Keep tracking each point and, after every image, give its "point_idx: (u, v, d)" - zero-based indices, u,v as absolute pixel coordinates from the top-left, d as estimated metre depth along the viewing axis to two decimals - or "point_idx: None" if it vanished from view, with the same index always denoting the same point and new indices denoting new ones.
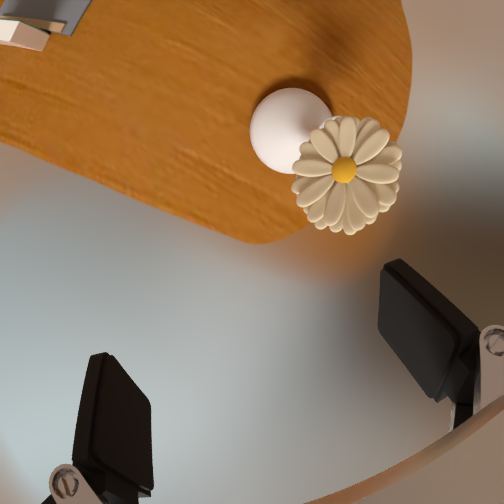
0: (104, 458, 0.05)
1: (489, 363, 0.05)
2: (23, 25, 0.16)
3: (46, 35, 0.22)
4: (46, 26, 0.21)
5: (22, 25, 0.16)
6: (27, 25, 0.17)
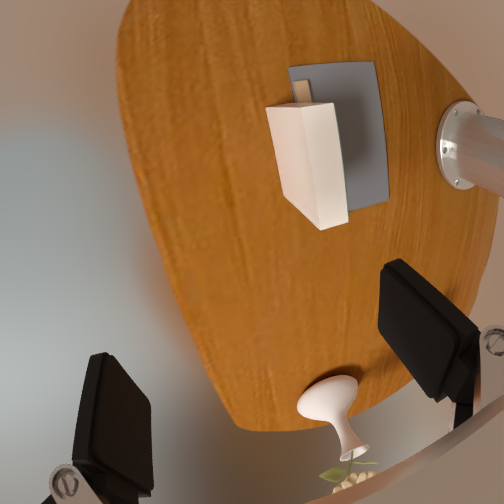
0: (104, 458, 0.05)
1: (489, 363, 0.05)
2: None
3: None
4: None
5: None
6: None
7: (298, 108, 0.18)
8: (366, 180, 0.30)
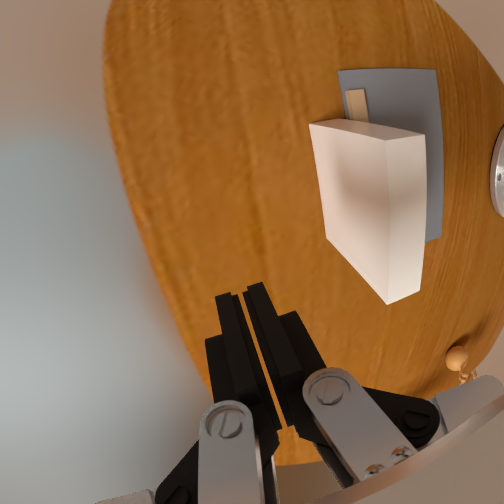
0: None
1: (332, 418, 0.05)
2: None
3: None
4: None
5: None
6: None
7: (379, 140, 0.11)
8: None
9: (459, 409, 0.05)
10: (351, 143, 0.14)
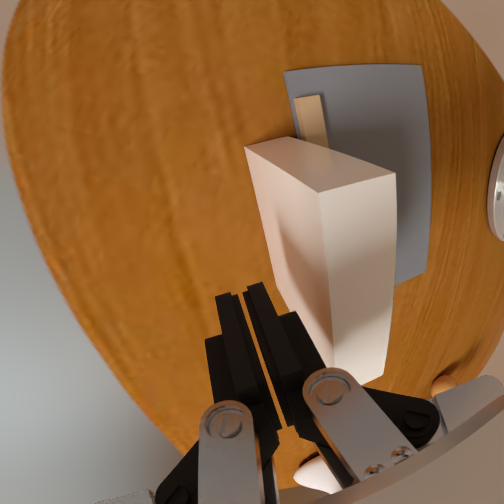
0: None
1: (332, 418, 0.05)
2: None
3: None
4: None
5: None
6: None
7: (311, 190, 0.07)
8: (400, 251, 0.20)
9: (459, 409, 0.05)
10: (281, 184, 0.10)
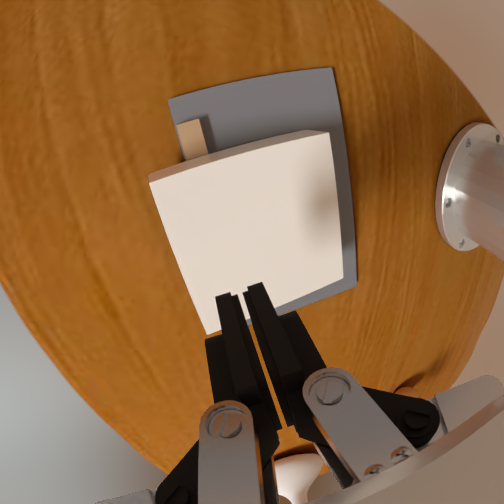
0: None
1: (332, 418, 0.05)
2: None
3: None
4: None
5: None
6: None
7: (321, 135, 0.14)
8: None
9: (459, 410, 0.05)
10: (275, 157, 0.14)
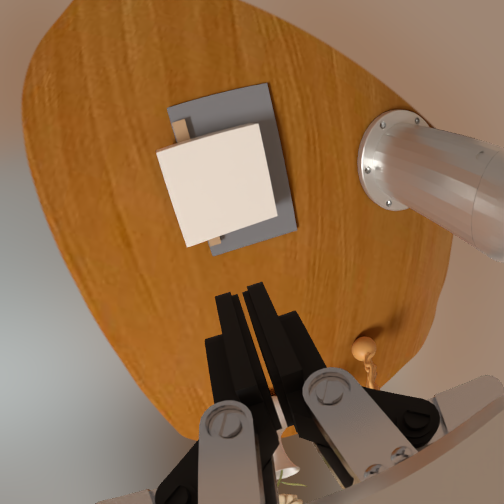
0: None
1: (332, 418, 0.05)
2: None
3: None
4: None
5: None
6: None
7: (253, 125, 0.24)
8: None
9: (459, 410, 0.05)
10: (225, 139, 0.24)
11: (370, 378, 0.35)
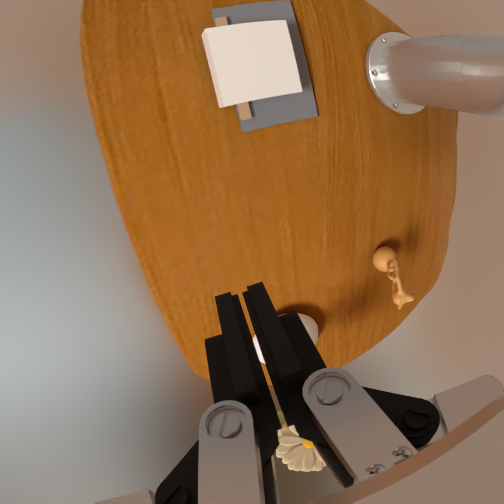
0: None
1: (332, 418, 0.05)
2: None
3: None
4: None
5: None
6: None
7: (281, 20, 0.25)
8: (290, 96, 0.32)
9: (459, 410, 0.05)
10: (260, 26, 0.25)
11: (397, 273, 0.36)
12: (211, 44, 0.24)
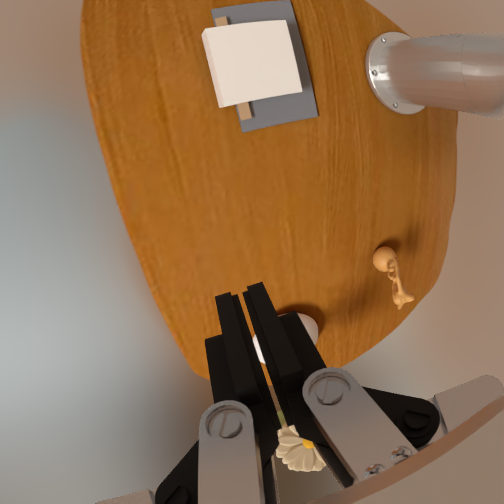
0: None
1: (332, 418, 0.05)
2: None
3: None
4: None
5: None
6: None
7: (281, 20, 0.25)
8: (290, 96, 0.32)
9: (459, 410, 0.05)
10: (260, 26, 0.25)
11: (397, 273, 0.36)
12: (211, 44, 0.24)
